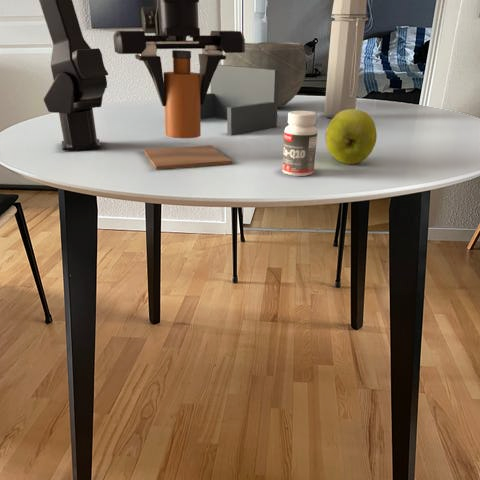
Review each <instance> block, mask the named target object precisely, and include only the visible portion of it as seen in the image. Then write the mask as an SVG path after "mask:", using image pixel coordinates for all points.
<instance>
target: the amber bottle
mask: <svg viewBox="0 0 480 480" xmlns="http://www.w3.org/2000/svg"><path fill="white" fill-rule="evenodd" d="M171 50H172V51H171V56H172V65H173V66H172V71H164V72H162V73H163V80H164V88H165V96H166V106H164V125H165V126H164V127H165V128H164V129H165V136H166V137H169V138H175V139H197V138H199V137H201V135H202V133H201V131H202V130H201V125H202V124H201V122H202V121H201V119H202V118H201V100H200V73H199V72H194V71H193V72H191V69H192V68H191V59H192V51H191V50H185V49H171Z"/></svg>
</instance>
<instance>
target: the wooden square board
mask: <svg viewBox="0 0 480 480" xmlns="http://www.w3.org/2000/svg"><path fill="white" fill-rule="evenodd" d="M143 153H144V155H145V156H146V157H147V159H148V160H149V162H150V163H151V164H152V166H153V167H154V169H155V170H157V171H158V170H168V169H181V168H182V169H183V168H193V167H194V168H195V167H208V166H219V165H220V166H221V165H231V164H232V160H231V159H230V158H229V157H227V156H226V155H225V154H223V153H222V152H220V151H219V149H217V148H215V146H213V145H212V144H207V145H195V146H194V145H193V146H179V147H163V148H151V149H150V148H148V149H143Z"/></svg>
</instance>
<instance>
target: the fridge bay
mask: <svg viewBox="0 0 480 480" xmlns="http://www.w3.org/2000/svg"><path fill="white" fill-rule="evenodd" d="M278 84H279V70H276V69H265V68H253V67H242V66H230V65H224V64H220V63H219V64H218V66H217V68H216V70H215V73H214V75H213V77H212V80H211V82H210V93H209V92H207V94H206V97H205V100H204V103H203V105H201V119H206V118H213V117H215V118H221V119H225V120H227V121H226V123H227V124H226V125H227V134H226V135H228V136H229V135H230V136H233V135H239V134H240V135H241V134H245V133H250V132H257V131H262V130H267V129H273V128H277V127H278V110H279V109H278V107H279V106H278Z"/></svg>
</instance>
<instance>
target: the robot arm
mask: <svg viewBox="0 0 480 480" xmlns="http://www.w3.org/2000/svg"><path fill="white" fill-rule="evenodd" d="M38 1H39V5H40V8H41V11H42V14H43V18H44V20H45V24H46V26H47V29H48V33H49V36H50V39H51V42H52V51H51V57H50V58H51V60H50V69H51V74H52V75H51V76H52V79H53V82H52V84H51V85H50V87H49V88H48V91H47V92H46V93H45V96H44V97H43V102H44V104H45V107H46V109H47V111H48V113H57V114H58V116H59V121H60V127H61V133H62V139H63V140H61V148H62V149H61V150H62V151H77V150H94V149H101V148H102V144H101V142H100V138H98V137H97V130H96V124H95V116H94V109H95V108H101V107H102V105H103V98H104V94H105V92H106V89H107V88H108V80H107V77H106V76H109V72H108V71H107V69H106V67H105V64H104V57H103V54H102V50H101V49H100V48H98V47H97V48H92V47H91V46H90V45H89V44H88V43H87V41H86V40H85V38H84V35H83V31H82V29H81V26H80V25H81V24H80V23H79V22H80V21H79V19H78V15H77V12H76V9H75V5H74V1H73V0H38ZM199 3H200V0H156V4H157V6H156V10H155V7H154V6H142V7H141V8H140V9H141V10H140V11H141V12H140V14H141V16H140V17H141V26H142V30H116V31H115V32H114V34H113V36H112V37H113V39H112V40H113V48H114V53H116V54H119V55H134V57H135V59H136V60H137V61H140V62H143V63H144V65H145V68H146V69H147V70H148V73H149V75H150V77H151V79H152V82H153V85H154V87H155V90H156V92H157V96H158V98H159V101H160V103H161V106H162V107H165V106H166V96H165V88H164V74H163V73H164V72H163V67H162V57H161V56H160V55H157V52H158V50H195V49H196V50H197V49H198V50H200V49H201V53H198V54H197V55H198V63H199V72H198V73H200V100H201V105H203V103H204V100H205V97H206V94H208V91H209V89H210V86H211V83H210V82H211V80H212V77H213V75H214V73H215V70H216V68H217V66H218V64H219V65H220V62H221V61H222V60H223V61H224V60H225V59H226V56H225V53H244V52H245V43H246V40H245V39H246V38H245V36H244V34H243V32H242V31H241V30H210V34H207V35H206V34H204V35H203V34H202V35H201V29H200V27H199ZM146 34H147V35H146ZM149 34H151V35H149ZM152 34H154V35H152ZM188 37H189V38H190V39H192V40H190V39H189V40H187V38H188Z"/></svg>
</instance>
